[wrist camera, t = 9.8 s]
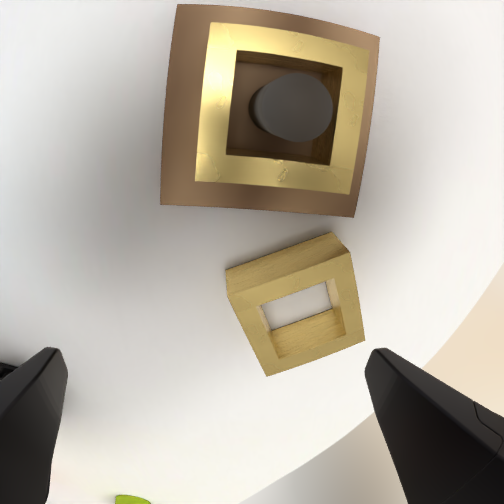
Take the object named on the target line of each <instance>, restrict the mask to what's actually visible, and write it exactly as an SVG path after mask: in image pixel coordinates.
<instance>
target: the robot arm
mask: <svg viewBox="0 0 504 504" xmlns="http://www.w3.org/2000/svg"><path fill="white" fill-rule="evenodd" d="M67 378H68V371H67V367H66V364H65V362H64V359H63V356H62V353H61V351H60V350H59V349H58V348H53V347H46V348H44V349H43V350H41V351H40V352H38V353H37V354H36V355H34V356H33V357H32V358H30V359H29V360H28V361H26V362H25V363H24V364H22V365H21V366H19V367H18V368H16V367H12V366H9V365H5V364H1V363H0V504H45V503H46V501H47V498H48V494H49V486H50V474H51V464H52V458H53V453H54V448H55V444H56V439H57V435H58V431H59V426H60V422H61V416H62V409H63V402H64V396H65V390H66V384H67ZM365 378H366V382H367V385H368V389H369V392H370V396H371V400H372V403H373V407H374V411H375V414H376V417H377V420H378V423H379V425H380V428H381V430H382V433H383V436H384V438H385V441H386V443H387V446H388V449H389V451H390V454H391V457H392V459H393V462H394V465H395V468H396V470H397V473H398V476H399V479H400V482H401V484H402V487H403V490H404V493H405V496H406V499H407V502H408V504H504V417H502V416H500V415H498V414H496V413H494V412H492V411H490V410H489V409H487V408H485V407H483V406H482V405H480V404H478V403H477V402H475V401H473V400H471V399H470V398H468V397H467V396H465V395H463V394H462V393H460V392H458V391H456V390H455V389H453V388H452V387H450V386H448V385H446V384H445V383H443V382H442V381H440V380H438V379H437V378H435V377H433V376H432V375H430V374H429V373H427V372H425V371H424V370H422V369H420V368H419V367H417V366H415V365H414V364H412V363H410V362H409V361H407V360H405V359H404V358H402V357H401V356H399V355H397V354H396V353H394V352H392V351H391V350H389V349H387V348H377V349H374V350H373V351H372V352H371V355H370V357H369V360H368V362H367V365H366V367H365Z"/></svg>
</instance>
